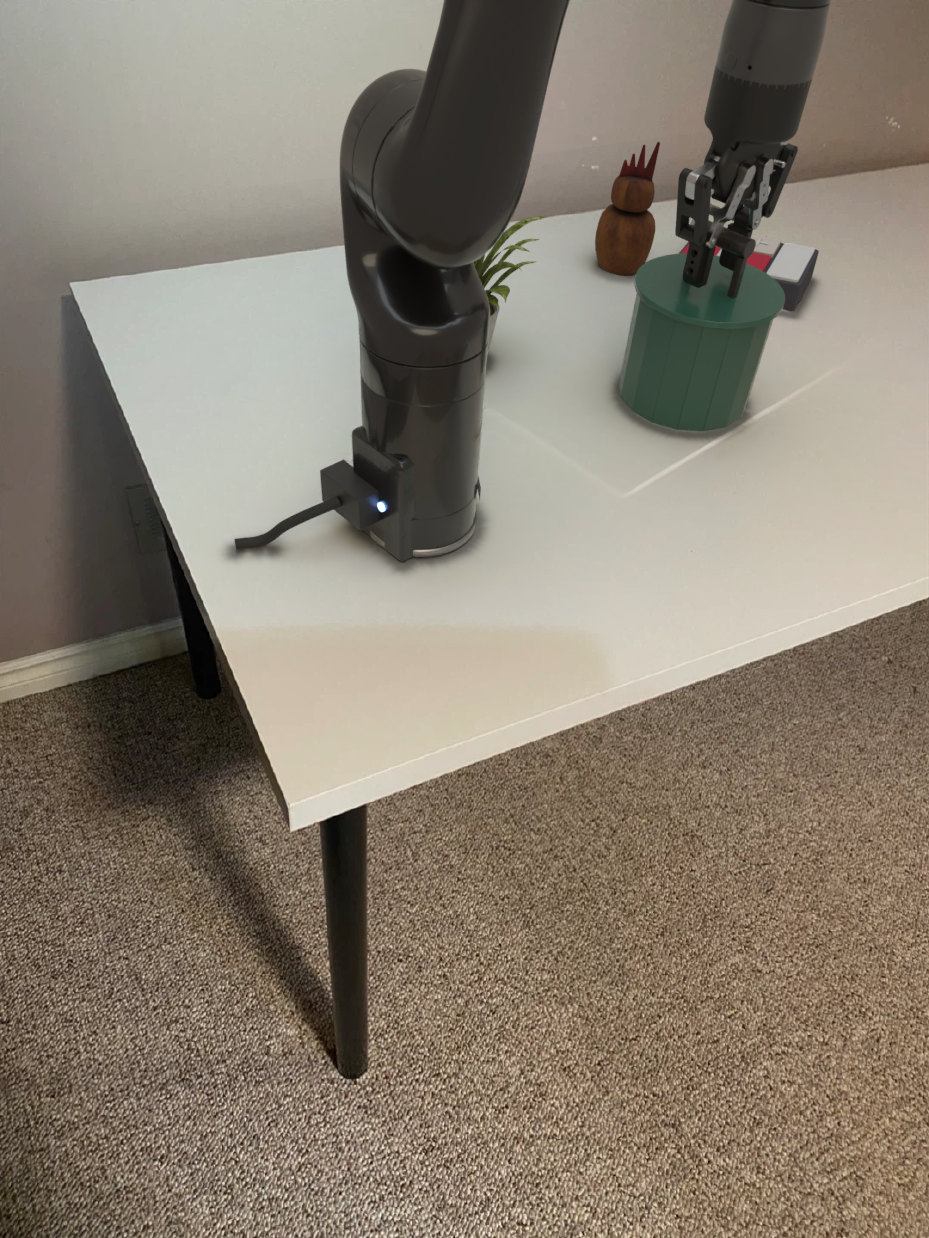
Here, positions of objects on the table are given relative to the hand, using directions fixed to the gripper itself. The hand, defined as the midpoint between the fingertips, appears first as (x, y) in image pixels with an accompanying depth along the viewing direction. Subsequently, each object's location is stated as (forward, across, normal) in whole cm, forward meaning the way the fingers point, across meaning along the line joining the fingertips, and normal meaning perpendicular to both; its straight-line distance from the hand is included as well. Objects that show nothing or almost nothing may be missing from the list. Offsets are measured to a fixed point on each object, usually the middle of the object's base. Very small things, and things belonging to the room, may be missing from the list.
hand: (712, 274), depth 84 cm
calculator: (+13, +27, +12) cm, 32 cm away
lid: (+2, 0, 0) cm, 2 cm away
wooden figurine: (+13, +17, +23) cm, 32 cm away
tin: (+13, 0, 0) cm, 13 cm away
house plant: (+13, -12, +18) cm, 25 cm away
